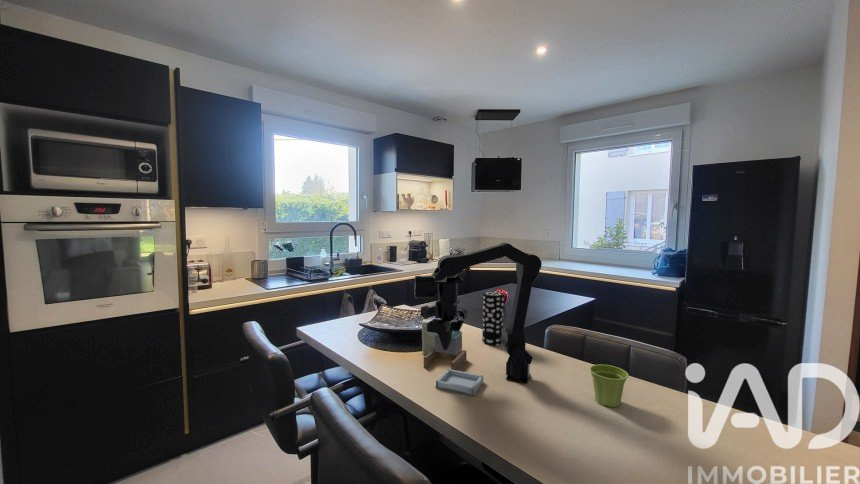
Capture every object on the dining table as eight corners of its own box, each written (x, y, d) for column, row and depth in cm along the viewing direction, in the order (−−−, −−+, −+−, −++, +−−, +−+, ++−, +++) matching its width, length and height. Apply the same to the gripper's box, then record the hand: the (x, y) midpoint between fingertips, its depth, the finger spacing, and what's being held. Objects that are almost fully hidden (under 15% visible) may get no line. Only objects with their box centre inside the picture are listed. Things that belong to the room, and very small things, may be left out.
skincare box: (439, 350, 133) (439, 319, 133) (438, 355, 129) (438, 322, 128) (422, 349, 134) (422, 318, 133) (421, 354, 130) (421, 321, 129)
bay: (466, 360, 124) (466, 350, 124) (453, 373, 114) (454, 363, 113) (438, 354, 129) (438, 345, 129) (423, 367, 118) (423, 357, 118)
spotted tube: (478, 339, 145) (479, 292, 144) (496, 337, 148) (497, 290, 147) (488, 346, 138) (488, 296, 136) (506, 344, 140) (507, 295, 139)
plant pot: (606, 413, 91) (607, 381, 90) (581, 395, 100) (582, 366, 99) (635, 408, 93) (636, 376, 92) (608, 391, 102) (609, 362, 102)
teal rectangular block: (462, 349, 109) (461, 331, 109) (456, 354, 104) (455, 336, 104) (441, 345, 112) (441, 328, 112) (434, 351, 108) (434, 333, 107)
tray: (483, 382, 108) (483, 375, 108) (473, 396, 99) (473, 389, 99) (448, 374, 113) (448, 368, 112) (435, 387, 104) (435, 381, 104)
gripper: (437, 289, 119) (438, 334, 120) (410, 301, 102) (411, 353, 103) (468, 292, 114) (468, 338, 115) (444, 305, 97) (445, 359, 98)
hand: (448, 347), depth 108 cm, fingers closed on teal rectangular block, 5 cm apart
